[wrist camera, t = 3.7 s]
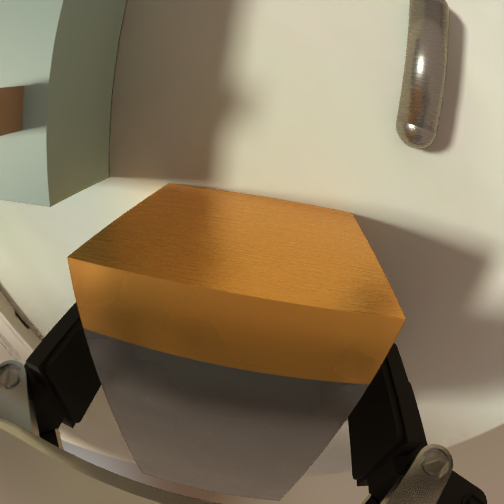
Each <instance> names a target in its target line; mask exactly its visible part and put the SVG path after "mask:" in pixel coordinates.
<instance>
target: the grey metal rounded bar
mask: <svg viewBox="0 0 504 504" xmlns="http://www.w3.org/2000/svg"><path fill="white" fill-rule="evenodd" d="M448 37H449V7H448V4H447V2H446V1H445V0H410V11H409V27H408V40H407V50H406V60H405V68H404V76H403V83H402V90H401V97H400V103H399V109H398V115H397V121H396V130H397V133H398V135H399V137H400V139H401V140H402V141H403V142H404V143H405V144H406V145H408V146H410V147H412V148H416V149H421V148H425V147H428V146H429V145H430V144H431V143H432V142H433V141H434V139H435V137H436V134H437V129H438V123H439V118H440V112H441V106H442V99H443V92H444V84H445V75H446V65H447V53H448Z"/></svg>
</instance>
